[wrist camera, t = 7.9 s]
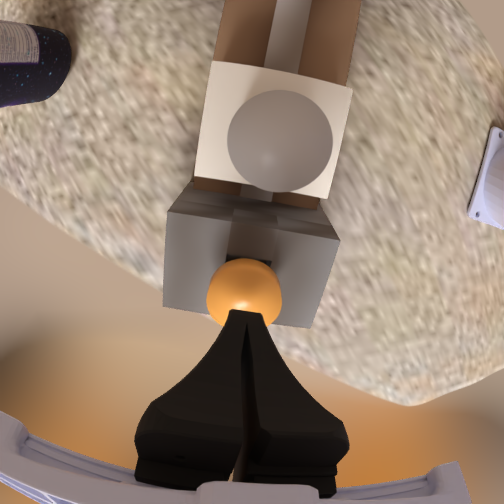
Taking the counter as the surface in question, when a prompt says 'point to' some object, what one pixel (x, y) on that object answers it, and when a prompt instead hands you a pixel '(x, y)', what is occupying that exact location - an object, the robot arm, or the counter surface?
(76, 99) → the counter surface
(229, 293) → the button
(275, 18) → the rail
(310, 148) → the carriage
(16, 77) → the beverage can
